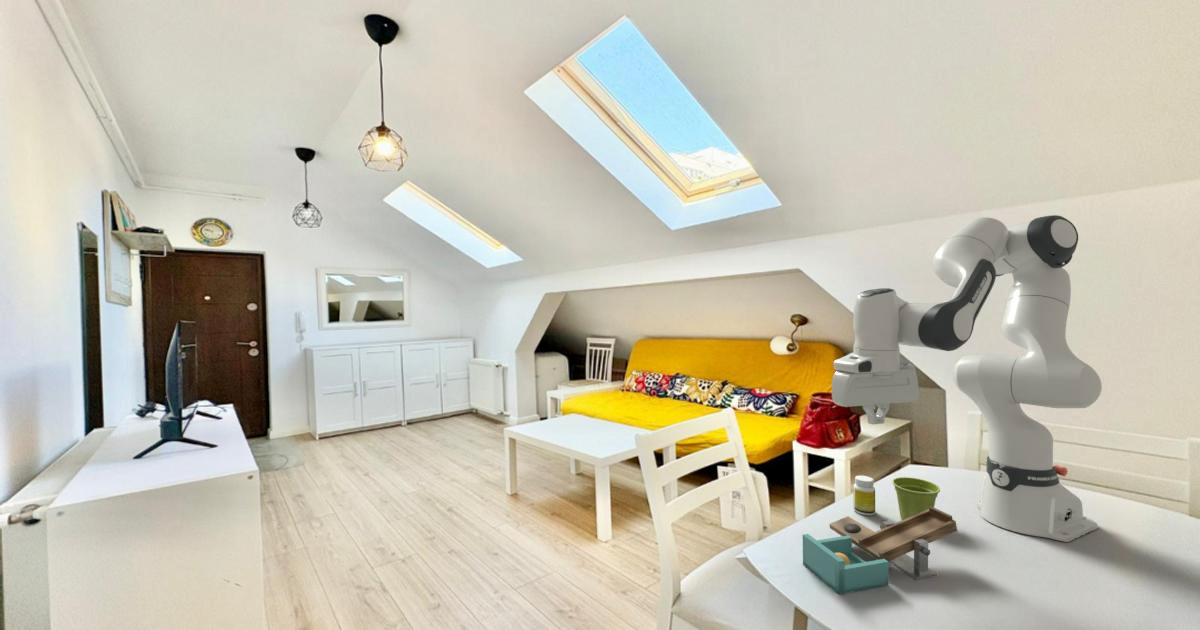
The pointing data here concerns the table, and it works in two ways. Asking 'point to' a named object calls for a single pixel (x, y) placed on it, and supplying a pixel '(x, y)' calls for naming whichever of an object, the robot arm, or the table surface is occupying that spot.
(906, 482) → the plant pot
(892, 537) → the lever
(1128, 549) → the table surface
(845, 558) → the ball
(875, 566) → the teal tray
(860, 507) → the supplement bottle
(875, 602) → the table surface
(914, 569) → the fulcrum
